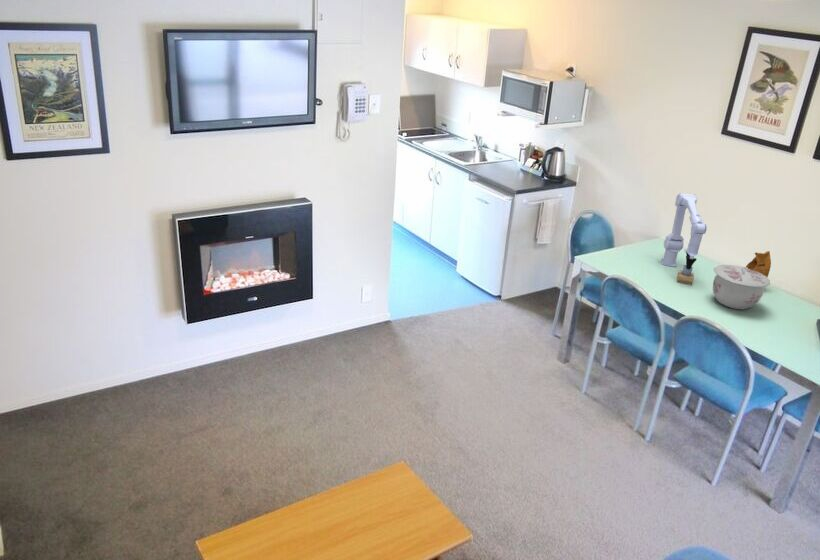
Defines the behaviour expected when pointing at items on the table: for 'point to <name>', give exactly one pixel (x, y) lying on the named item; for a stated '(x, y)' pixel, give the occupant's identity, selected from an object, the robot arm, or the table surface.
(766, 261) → the coffee package
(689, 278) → the oak slab
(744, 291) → the chamber pot
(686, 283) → the walnut slab
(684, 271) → the round block
